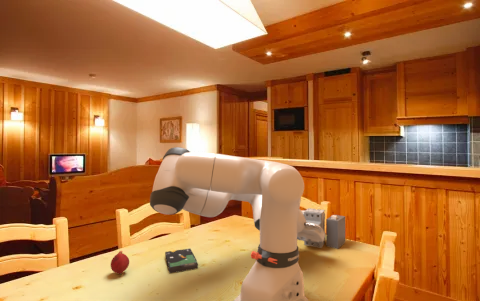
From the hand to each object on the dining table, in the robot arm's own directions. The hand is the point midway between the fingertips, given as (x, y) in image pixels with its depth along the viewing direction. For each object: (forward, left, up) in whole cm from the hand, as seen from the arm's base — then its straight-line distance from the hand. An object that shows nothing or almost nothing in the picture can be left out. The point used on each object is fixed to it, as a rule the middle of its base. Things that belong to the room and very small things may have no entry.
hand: (304, 239), depth 110 cm
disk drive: (-41, +32, -5) cm, 52 cm away
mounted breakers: (+15, 0, -5) cm, 16 cm away
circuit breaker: (+7, -1, -5) cm, 9 cm away
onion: (-60, +41, -5) cm, 72 cm away
